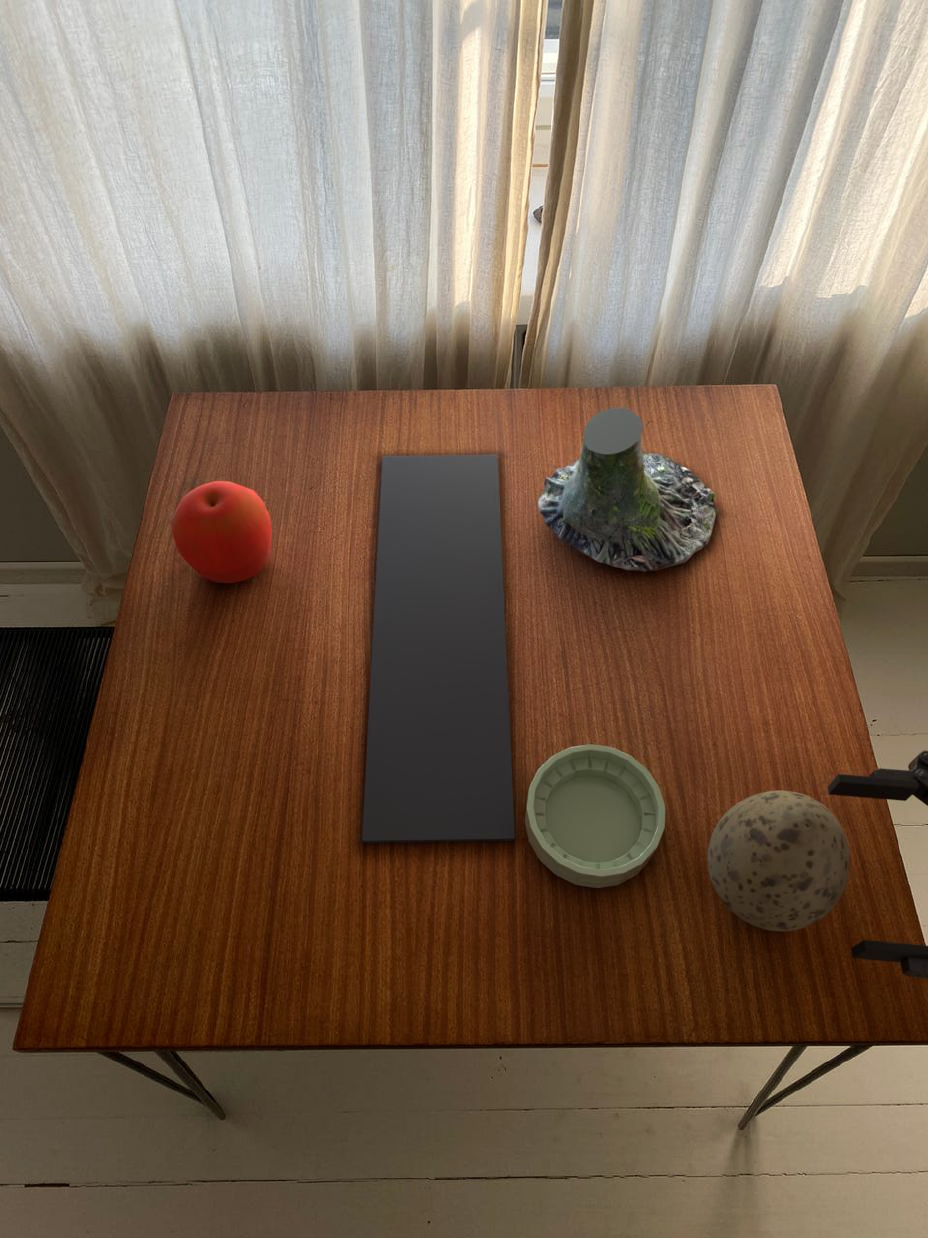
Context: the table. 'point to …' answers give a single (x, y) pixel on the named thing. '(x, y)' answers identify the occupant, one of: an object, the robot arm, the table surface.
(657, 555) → the tree stump
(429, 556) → the mat
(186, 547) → the apple
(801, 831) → the decorative egg
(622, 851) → the bowl
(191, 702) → the table surface
